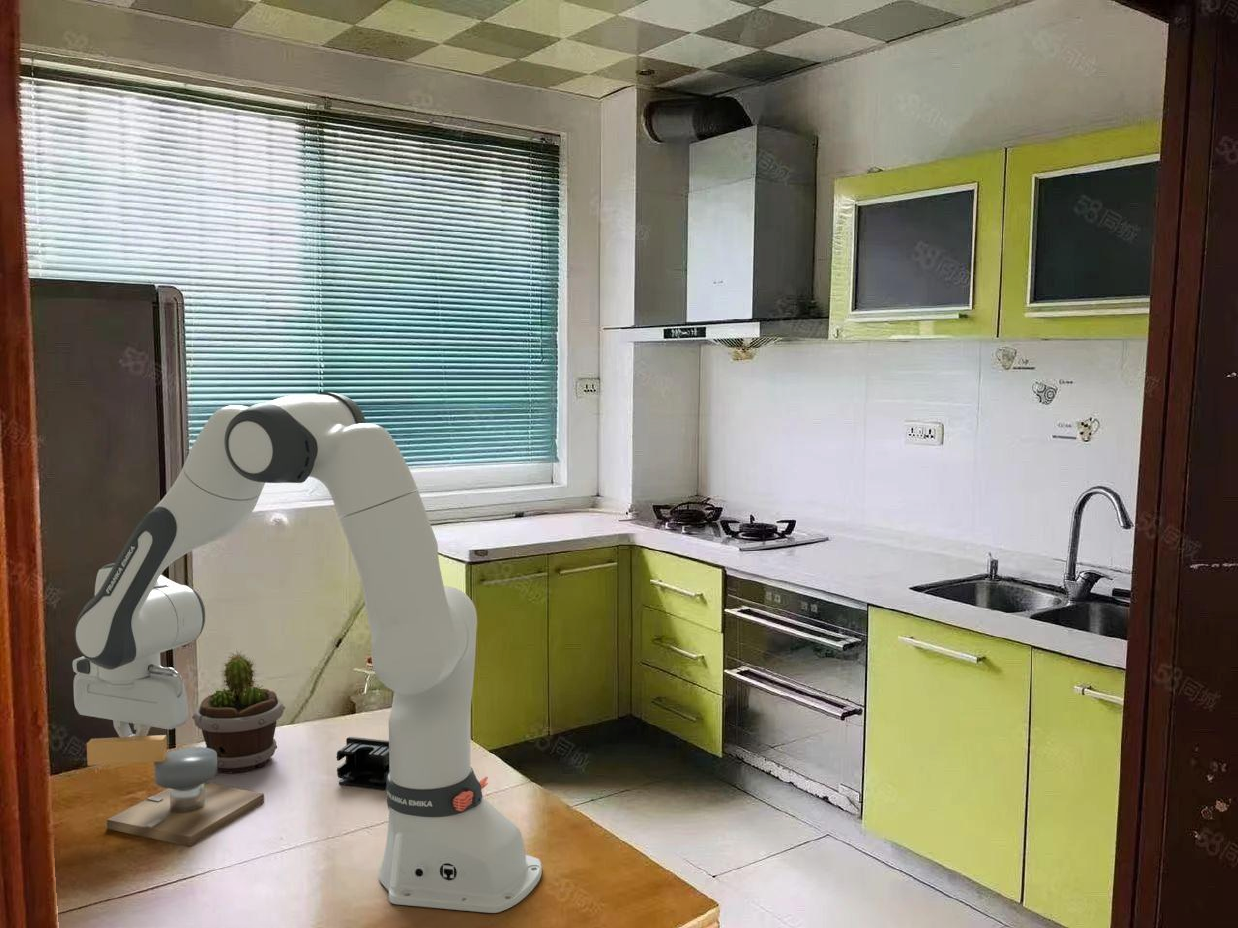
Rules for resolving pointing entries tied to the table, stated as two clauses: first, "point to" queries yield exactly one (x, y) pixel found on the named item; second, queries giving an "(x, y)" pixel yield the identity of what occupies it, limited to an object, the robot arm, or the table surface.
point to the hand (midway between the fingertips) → (133, 747)
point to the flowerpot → (240, 719)
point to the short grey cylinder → (187, 799)
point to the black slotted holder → (364, 763)
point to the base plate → (185, 815)
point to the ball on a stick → (157, 759)
